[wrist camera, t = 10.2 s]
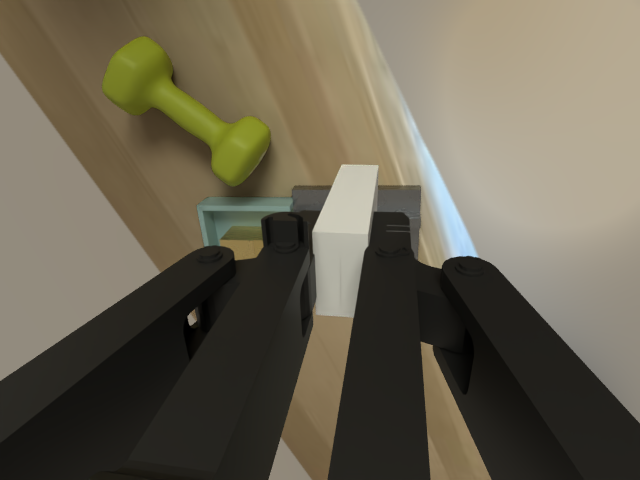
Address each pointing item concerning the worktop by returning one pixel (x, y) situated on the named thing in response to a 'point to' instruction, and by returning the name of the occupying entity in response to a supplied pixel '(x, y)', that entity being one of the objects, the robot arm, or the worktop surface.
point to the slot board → (387, 201)
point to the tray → (236, 214)
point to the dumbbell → (183, 109)
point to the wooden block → (241, 241)
